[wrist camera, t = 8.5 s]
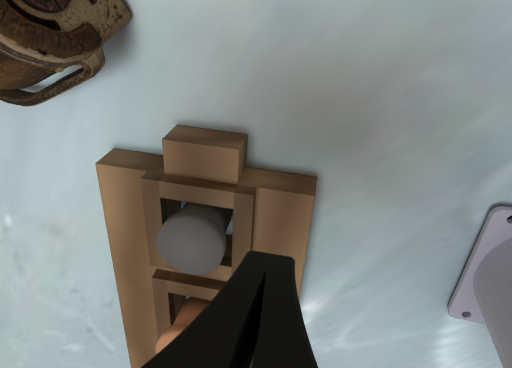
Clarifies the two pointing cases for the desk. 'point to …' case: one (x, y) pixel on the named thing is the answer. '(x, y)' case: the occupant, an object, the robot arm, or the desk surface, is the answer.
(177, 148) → the walnut test board
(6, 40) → the brown watering can
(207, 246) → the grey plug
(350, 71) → the desk surface
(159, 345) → the terracotta plug
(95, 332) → the desk surface
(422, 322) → the desk surface
